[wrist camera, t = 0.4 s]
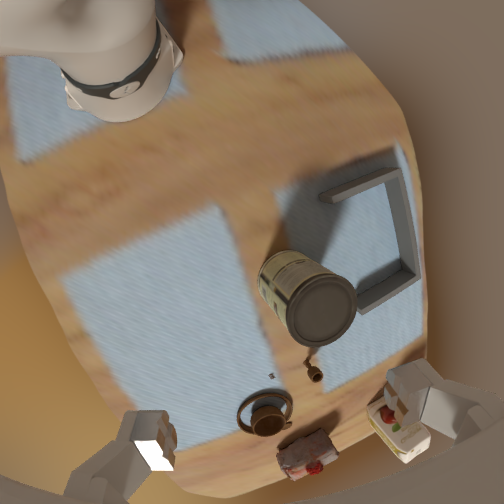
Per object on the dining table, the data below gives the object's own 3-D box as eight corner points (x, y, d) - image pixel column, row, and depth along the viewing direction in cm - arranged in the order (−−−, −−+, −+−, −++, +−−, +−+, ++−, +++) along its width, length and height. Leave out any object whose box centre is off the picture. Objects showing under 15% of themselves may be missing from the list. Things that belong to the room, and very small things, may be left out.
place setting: (218, 398, 55) (223, 418, 49) (308, 350, 57) (321, 366, 51) (254, 441, 60) (261, 459, 55) (331, 400, 63) (342, 416, 57)
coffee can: (324, 278, 53) (369, 309, 40) (282, 318, 53) (315, 360, 40) (291, 236, 50) (333, 258, 36) (244, 279, 49) (271, 316, 36)
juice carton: (391, 406, 69) (431, 447, 51) (365, 422, 68) (403, 467, 50) (390, 389, 67) (434, 431, 49) (363, 406, 66) (404, 453, 48)
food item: (283, 462, 64) (296, 489, 55) (270, 450, 62) (283, 479, 53) (329, 437, 66) (346, 462, 57) (320, 422, 63) (338, 450, 54)
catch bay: (318, 194, 49) (331, 196, 45) (385, 167, 51) (400, 167, 47) (349, 306, 56) (362, 315, 52) (406, 271, 58) (421, 278, 54)
